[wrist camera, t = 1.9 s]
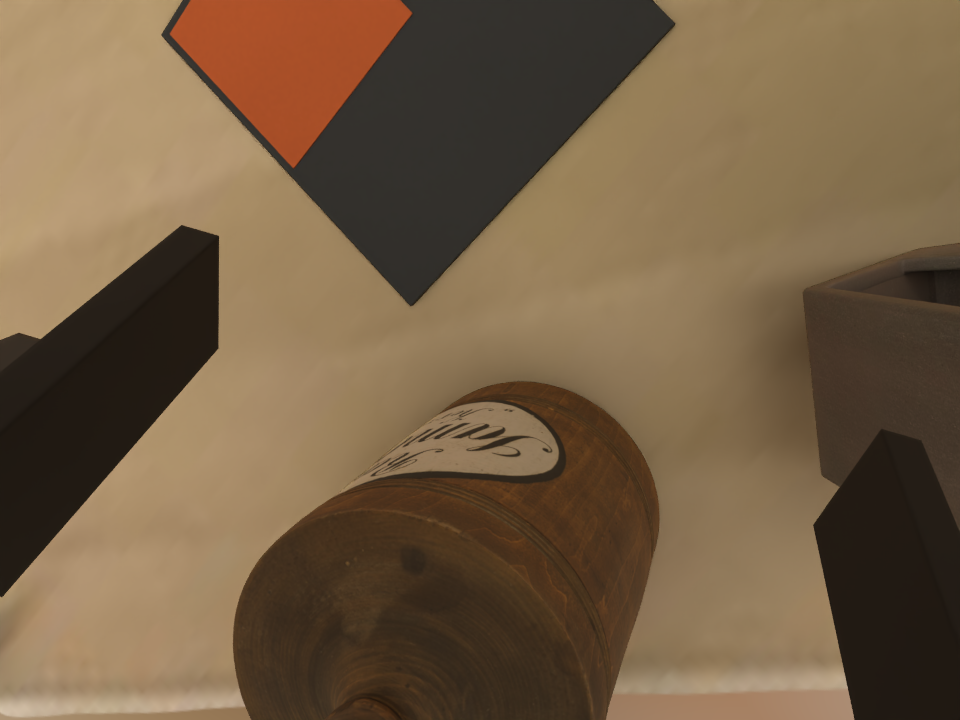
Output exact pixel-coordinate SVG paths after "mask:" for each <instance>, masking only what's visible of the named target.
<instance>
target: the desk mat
mask: <svg viewBox="0 0 960 720" xmlns="http://www.w3.org/2000/svg"><path fill="white" fill-rule="evenodd" d="M674 25H675V23H674V22H673V21H672V20H671V19H670V18H669V17H668V16H667V15H666V14H665V13H664V12H663V11H662V10H661V9H660V8H659V6H658V5H657V4H656V3H655V2H654V1H653V0H183V1H182V2H181V4H180V6H179V7H178V9H177V10H176V12H175V14H174V15H173V17H172V19H171V20H170V22H169V23H168V25H167V27H166V28H165V30H164V32H163V33H162V37H163V38H164V39H165V40H166V41H167V42H168V43H169V44H170V45H171V46H172V47H173V49H174V50H175V51H176V52H177V53H178V54H179V55H180V56H181V57H182V58H183V59H184V61H185V62H186V63H187V64H188V65H189V66H190V67H191V68H192V69H193V70H194V71H195V72H196V74H197V75H198V76H199V77H200V78H201V79H202V80H203V81H204V82H205V83H206V84H207V85H208V87H209V88H210V89H211V90H212V91H213V92H214V93H215V94H216V95H217V96H218V97H219V99H220V100H221V101H222V102H223V103H224V104H225V105H226V106H227V107H228V108H229V109H230V110H231V112H232V113H233V114H234V115H235V116H236V117H237V118H238V119H239V120H240V121H241V122H242V123H243V125H244V126H245V127H246V128H247V129H248V130H249V131H250V132H251V133H252V134H253V135H254V137H255V138H256V139H257V140H258V141H259V142H260V143H261V144H262V145H263V146H264V147H265V148H266V150H267V151H268V152H269V153H270V154H271V155H272V156H273V157H274V158H275V159H276V160H277V161H278V163H279V164H280V165H281V166H282V167H283V168H284V169H285V170H286V171H287V172H288V173H289V175H290V176H291V177H292V178H293V179H294V180H295V181H296V182H297V183H298V184H299V185H300V186H301V188H302V189H303V190H304V191H305V192H306V193H307V194H308V195H309V196H310V197H311V198H312V199H313V201H314V202H315V203H316V204H317V205H318V206H319V207H320V208H321V209H322V210H323V211H324V213H325V214H326V215H327V216H328V217H329V218H330V219H331V220H332V221H333V222H334V223H335V224H336V226H337V227H338V228H339V229H340V230H341V231H342V232H343V233H344V234H345V235H346V236H347V238H348V239H349V240H350V241H351V242H352V243H353V244H354V245H355V246H356V247H357V248H358V249H359V251H360V252H361V253H362V254H363V255H364V256H365V257H366V258H367V259H368V260H369V261H370V262H371V264H372V265H373V266H374V267H375V268H376V269H377V270H378V271H379V272H380V273H381V274H382V276H383V277H384V278H385V279H386V280H387V281H388V282H389V283H390V284H391V285H392V286H393V287H394V289H395V290H396V291H397V292H398V293H399V294H400V295H401V296H402V297H403V298H404V299H405V300H406V302H407V303H408V304H409V305H410V306H412V305H413V304H414V303H415V302H416V301H417V300H418V299H419V298H420V297H421V296H422V295H423V294H424V293H425V291H426V290H427V289H428V288H429V287H430V286H431V285H432V284H433V283H434V282H435V281H436V280H437V279H438V278H439V277H440V275H441V274H442V273H443V272H444V271H445V270H446V269H447V268H448V267H449V266H450V265H451V264H452V263H453V262H454V260H455V259H456V258H457V257H458V256H459V255H460V254H461V253H462V252H463V251H464V250H465V249H466V248H467V247H468V245H469V244H470V243H471V242H472V241H473V240H474V239H475V238H476V237H477V236H478V235H479V234H480V233H481V232H482V231H483V229H484V228H485V227H486V226H487V225H488V224H489V223H490V222H491V221H492V220H493V219H494V218H495V217H496V216H497V214H498V213H499V212H500V211H501V210H502V209H503V208H504V207H505V206H506V205H507V204H508V203H509V202H510V201H511V199H512V198H513V197H514V196H515V195H516V194H517V193H518V192H519V191H520V190H521V189H522V188H523V187H524V186H525V185H526V183H527V182H528V181H529V180H530V179H531V178H532V177H533V176H534V175H535V174H536V173H537V172H538V171H539V170H540V168H541V167H542V166H543V165H544V164H545V163H546V162H547V161H548V160H549V159H550V158H551V157H552V156H553V155H554V154H555V152H556V151H557V150H558V149H559V148H560V147H561V146H562V145H563V144H564V143H565V142H566V141H567V140H568V139H569V137H570V136H571V135H572V134H573V133H574V132H575V131H576V130H577V129H578V128H579V127H580V126H581V125H582V124H583V122H584V121H585V120H586V119H587V118H588V117H589V116H590V115H591V114H592V113H593V112H594V111H595V110H596V109H597V108H598V106H599V105H600V104H601V103H602V102H603V101H604V100H605V99H606V98H607V97H608V96H609V95H610V94H611V93H612V91H613V90H614V89H615V88H616V87H617V86H618V85H619V84H620V83H621V82H622V81H623V80H624V79H625V78H626V76H627V75H628V74H629V73H630V72H631V71H632V70H633V69H634V68H635V67H636V66H637V65H638V64H639V63H640V62H641V60H642V59H643V58H644V57H645V56H646V55H647V54H648V53H649V52H650V51H651V50H652V49H653V48H654V47H655V45H656V44H657V43H658V42H659V41H660V40H661V39H662V38H663V37H664V36H665V35H666V34H667V33H668V32H669V31H670V29H671V28H672V27H673V26H674Z"/></svg>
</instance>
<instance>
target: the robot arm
mask: <svg viewBox="0 0 960 720" xmlns="http://www.w3.org/2000/svg"><path fill="white" fill-rule="evenodd" d="M218 324H219V236H217V235H214V234H210V233H207V232H203V231H200V230H197V229H193V228H190V227H186V226H183V225H181V226H180V227H179V228H178V229H176V230H175V231H174V232H173V233H171V234H170V235H169V236H168V237H166V238H165V239H164V240H163V241H161V242H160V243H159V244H158V245H157V246H155V247H154V248H153V249H152V250H150V251H149V252H148V253H147V254H145V255H144V256H143V257H142V258H140V259H139V260H138V261H137V262H136V263H134V264H133V265H132V266H131V267H129V268H128V269H127V270H126V271H124V272H123V273H122V274H121V275H119V276H118V277H117V278H116V279H115V280H113V281H112V282H111V283H110V284H108V285H107V286H106V287H105V288H103V289H102V290H101V291H100V292H98V293H97V294H96V295H95V296H93V297H92V298H91V299H90V300H89V301H87V302H86V303H85V304H84V305H82V306H81V307H80V308H79V309H77V310H76V311H75V312H74V313H72V314H71V315H70V316H69V317H68V318H66V319H65V320H64V321H63V322H61V323H60V324H59V325H58V326H56V327H55V328H54V329H53V330H51V331H50V332H49V333H48V334H47V335H45V336H44V337H43V338H42V339H38V338H34V337H31V336H28V335H24V334H21V333H17V334H15V335H12V336H10V337H7V338H5V339H2V340H0V597H3V596H4V594H5V593H6V592H7V591H8V590H9V589H10V588H11V586H12V585H13V584H14V583H15V582H16V581H17V579H18V578H19V577H20V576H21V575H22V574H23V573H24V571H25V570H26V569H27V568H28V567H29V566H30V565H31V563H32V562H33V561H34V560H35V559H36V558H37V556H38V555H39V554H40V553H41V552H42V551H43V550H44V548H45V547H46V546H47V545H48V544H49V543H50V541H51V540H52V539H53V538H54V537H55V536H56V535H57V533H58V532H59V531H60V530H61V529H62V528H63V527H64V525H65V524H66V523H67V522H68V521H69V520H70V518H71V517H72V516H73V515H74V514H75V513H76V512H77V510H78V509H79V508H80V507H81V506H82V505H83V504H84V502H85V501H86V500H87V499H88V498H89V497H90V495H91V494H92V493H93V492H94V491H95V490H96V489H97V487H98V486H99V485H100V484H101V483H102V482H103V481H104V479H105V478H106V477H107V476H108V475H109V474H110V472H111V471H112V470H113V469H114V468H115V467H116V466H117V464H118V463H119V462H120V461H121V460H122V459H123V457H124V456H125V455H126V454H127V453H128V452H129V451H130V449H131V448H132V447H133V446H134V445H135V444H136V443H137V441H138V440H139V439H140V438H141V437H142V436H143V434H144V433H145V432H146V431H147V430H148V429H149V428H150V426H151V425H152V424H153V423H154V422H155V421H156V420H157V418H158V417H159V416H160V415H161V414H162V413H163V411H164V410H165V409H166V408H167V407H168V406H169V405H170V403H171V402H172V401H173V400H174V399H175V398H176V397H177V395H178V394H179V393H180V392H181V391H182V390H183V388H184V387H185V386H186V385H187V384H188V383H189V382H190V380H191V379H192V378H193V377H194V376H195V375H196V373H197V372H198V371H199V370H200V369H201V368H202V367H203V365H204V364H205V363H206V362H207V361H208V360H209V359H210V357H211V356H212V355H213V354H214V353H215V352H216V350H217V349H218ZM813 526H814V531H815V535H816V540H817V545H818V550H819V554H820V559H821V564H822V568H823V573H824V578H825V582H826V587H827V592H828V597H829V601H830V606H831V611H832V615H833V620H834V625H835V630H836V634H837V639H838V644H839V648H840V653H841V658H842V662H843V667H844V672H845V677H846V681H847V686H848V691H849V695H850V700H851V704H852V709H853V714H854V719H855V720H960V531H959V529H958V526H957V524H956V521H955V519H954V517H953V514H952V512H951V509H950V507H949V505H948V502H947V500H946V498H945V495H944V493H943V490H942V488H941V486H940V483H939V481H938V479H937V476H936V474H935V471H934V469H933V467H932V464H931V462H930V460H929V457H928V455H927V452H926V450H925V448H924V445H923V443H922V440H919V439H915V438H912V437H908V436H905V435H901V434H898V433H895V432H891V431H888V430H884V429H881V430H880V431H879V433H878V434H877V435H876V437H875V438H874V440H873V441H872V443H871V444H870V445H869V447H868V448H867V450H866V451H865V452H864V454H863V455H862V457H861V458H860V460H859V461H858V462H857V464H856V465H855V467H854V468H853V469H852V471H851V472H850V474H849V475H848V477H847V478H846V479H845V481H844V482H843V484H842V485H841V486H840V488H839V489H838V491H837V492H836V494H835V495H834V496H833V498H832V499H831V501H830V502H829V503H828V505H827V506H826V508H825V509H824V511H823V512H822V513H821V515H820V516H819V518H818V519H817V520H816V522H815V523H814V525H813Z"/></svg>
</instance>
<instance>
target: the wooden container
mask: <svg viewBox="0 0 960 720" xmlns="http://www.w3.org/2000/svg"><path fill="white" fill-rule="evenodd" d="M658 531H659V503H658V496H657V492H656V488H655V484H654V480H653V477H652V475H651V472H650V470H649V467H648V465H647V463H646V461H645V459H644V457H643V455H642V453H641V452H640V450H639V449H638V447H637V446H636V444H635V443H634V441H633V440H632V439H631V437H630V436H629V435H628V434H627V432H626V431H625V430H624V429H623V428H622V427H621V426H620V425H619V424H618V423H617V422H616V421H615V420H614V419H613V418H612V417H611V416H610V415H608V414H607V413H606V412H605V411H604V410H602V409H601V408H599V407H598V406H596V405H595V404H593V403H592V402H590V401H588V400H587V399H585V398H583V397H581V396H579V395H577V394H575V393H572V392H570V391H567V390H565V389H562V388H558V387H555V386H551V385H547V384H542V383H535V382H508V383H501V384H495V385H491V386H487V387H484V388H481V389H479V390H477V391H474V392H472V393H470V394H468V395H466V396H464V397H462V398H461V399H459V400H457V401H456V402H454V403H453V404H451V405H450V406H449V407H447V408H446V409H445V410H443V411H442V412H441V413H439V414H438V415H437V416H435V417H434V418H432V419H431V420H429V421H428V422H427V423H425V424H424V425H423V426H421V427H420V428H419V429H417V430H416V431H414V432H413V433H412V434H410V435H409V436H408V437H406V438H405V439H404V440H402V441H401V442H400V443H398V444H397V445H396V446H395V447H393V448H392V449H391V450H390V451H388V452H387V453H386V454H385V455H383V456H382V457H381V458H380V459H379V460H378V461H377V462H375V463H374V464H373V465H372V466H371V467H370V468H368V469H367V470H366V471H365V472H363V473H362V474H361V475H360V476H358V477H357V478H356V479H355V480H353V481H352V482H351V483H350V484H349V485H347V486H346V487H345V488H344V489H343V490H341V491H340V492H339V493H338V494H336V495H335V496H334V497H333V498H331V499H329V500H328V501H326V502H325V503H324V504H322V505H321V506H319V507H318V508H316V509H315V510H314V511H312V512H311V513H309V514H308V515H307V516H305V517H304V518H303V519H301V520H300V521H299V522H298V523H296V524H295V525H294V526H293V527H292V528H290V529H289V530H288V531H287V532H286V533H285V534H283V535H282V536H281V537H280V538H279V539H278V540H277V541H276V542H275V543H274V544H273V545H272V546H271V547H270V548H269V549H268V550H267V551H266V552H265V553H264V555H263V556H262V557H261V558H260V559H259V561H258V562H257V564H256V565H255V567H254V568H253V570H252V571H251V573H250V575H249V577H248V579H247V581H246V583H245V585H244V587H243V590H242V593H241V595H240V598H239V602H238V605H237V610H236V614H235V621H234V632H233V653H234V662H235V669H236V675H237V679H238V684H239V688H240V692H241V695H242V698H243V701H244V704H245V706H246V709H247V711H248V713H249V716H250V718H251V720H606V716H607V712H608V707H609V703H610V700H611V697H612V694H613V690H614V687H615V684H616V680H617V677H618V674H619V670H620V667H621V663H622V660H623V657H624V654H625V651H626V648H627V645H628V642H629V639H630V636H631V633H632V630H633V627H634V624H635V621H636V618H637V615H638V612H639V609H640V605H641V602H642V598H643V595H644V591H645V587H646V584H647V580H648V575H649V570H650V566H651V562H652V558H653V554H654V551H655V547H656V542H657V537H658Z"/></svg>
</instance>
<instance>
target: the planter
mask: <svg viewBox="0 0 960 720" xmlns="http://www.w3.org/2000/svg"><path fill="white" fill-rule="evenodd" d="M803 300H804V309H805V319H806V329H807V339H808V349H809V359H810V368H811V378H812V388H813V398H814V408H815V417H816V427H817V437H818V447H819V457H820V467H821V474H822V476H823V477H825V478H826V479H828V480H830V481H831V482H833V483H834V484H836V485H838V486H839V487H840V486H841V485H842V484H843V482H844V481H845V479H846V478H847V477H848V475H849V474H850V472H851V471H852V469H853V468H854V467H855V465H856V464H857V462H858V461H859V460H860V458H861V457H862V455H863V454H864V452H865V451H866V450H867V448H868V447H869V445H870V444H871V443H872V441H873V440H874V438H875V437H876V435H877V434H878V433H879V431H880V430H881V429H884V430H888V431H891V432H895V433H898V434H901V435H905V436H908V437H912V438H915V439H919V440H922V443H923V445H924V448H925V450H926V452H927V455H928V457H929V460H930V462H931V464H932V467H933V469H934V471H935V474H936V476H937V479H938V481H939V483H940V486H941V488H942V490H943V493H944V495H945V498H946V500H947V502H948V505H949V507H950V509H951V512H952V514H953V517H954V519H955V521H956V524H957V526H958V529H959V531H960V243H956V244H949V245H942V246H934V247H927V248H920V249H916V250H913V251H910V252H907V253H904V254H902V255H899V256H896V257H893V258H890V259H888V260H885V261H882V262H879V263H876V264H874V265H871V266H868V267H865V268H862V269H859V270H857V271H854V272H851V273H848V274H845V275H843V276H840V277H837V278H834V279H831V280H829V281H826V282H823V283H820V284H817V285H815V286H812V287H809V288H806V289H805V290H804V291H803Z"/></svg>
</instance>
